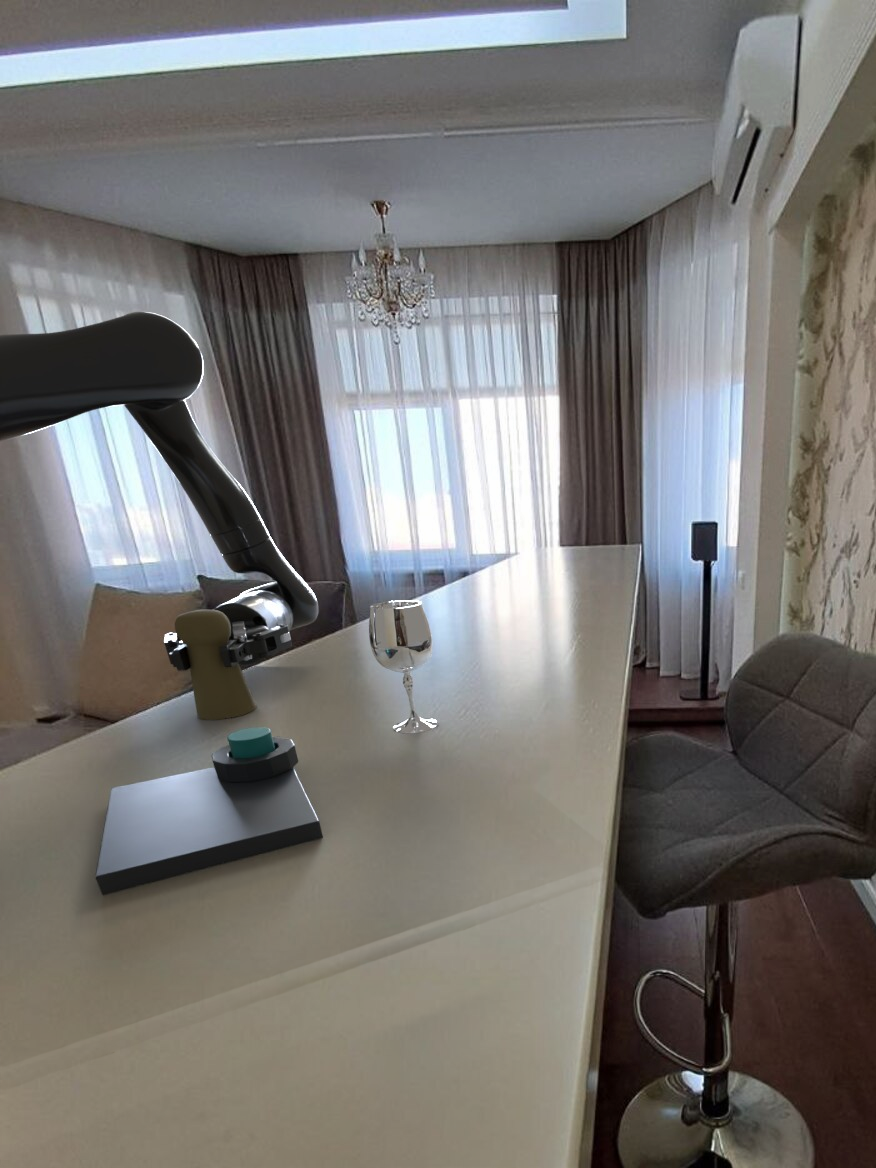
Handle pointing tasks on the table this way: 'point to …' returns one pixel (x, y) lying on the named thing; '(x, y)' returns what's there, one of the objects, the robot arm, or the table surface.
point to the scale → (204, 818)
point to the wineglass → (402, 649)
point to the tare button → (251, 742)
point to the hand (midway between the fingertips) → (202, 659)
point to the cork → (213, 666)
